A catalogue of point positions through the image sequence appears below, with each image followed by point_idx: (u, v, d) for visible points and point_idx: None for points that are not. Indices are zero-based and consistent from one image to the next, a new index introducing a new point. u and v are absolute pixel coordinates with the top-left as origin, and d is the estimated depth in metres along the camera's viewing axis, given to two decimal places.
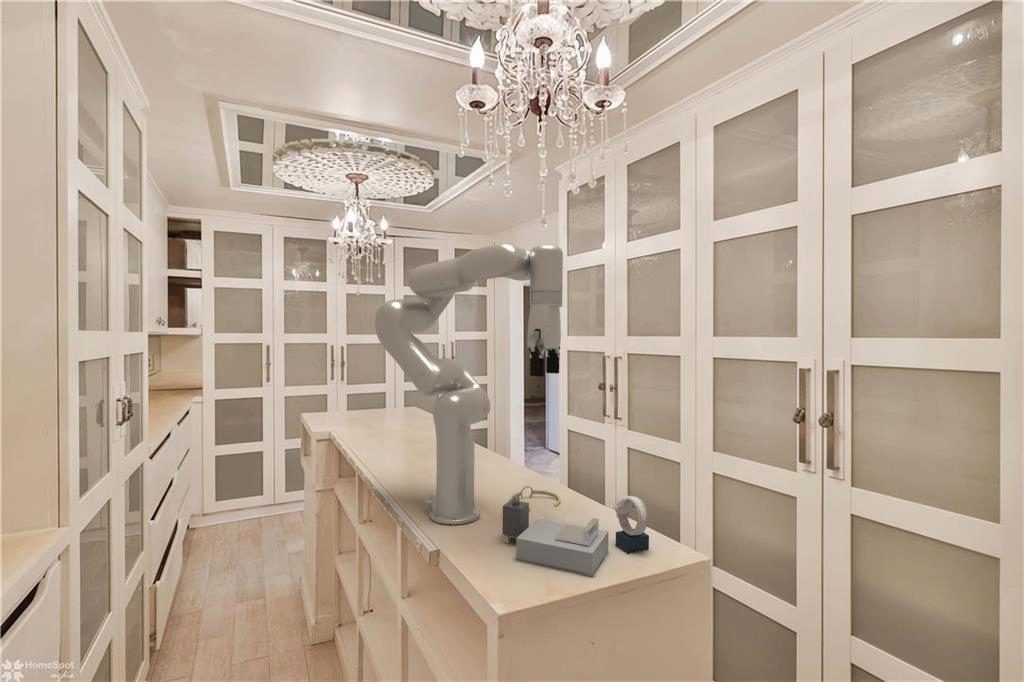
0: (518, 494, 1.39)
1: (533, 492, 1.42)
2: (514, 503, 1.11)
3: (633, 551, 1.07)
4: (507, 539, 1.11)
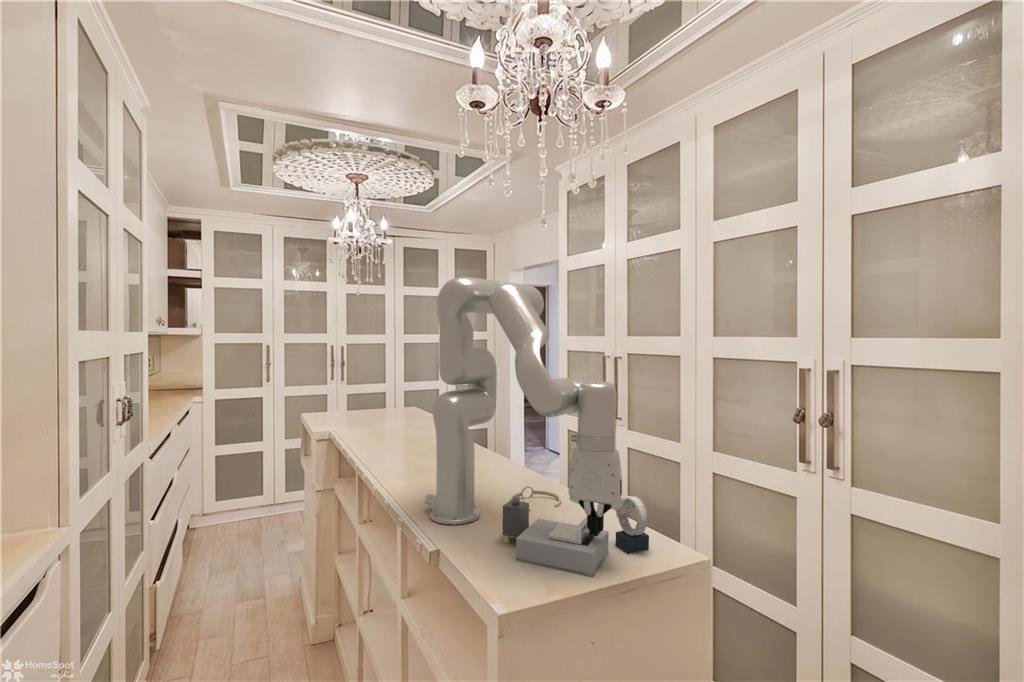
0: (518, 494, 1.39)
1: (533, 492, 1.42)
2: (514, 503, 1.11)
3: (633, 551, 1.07)
4: (507, 539, 1.11)
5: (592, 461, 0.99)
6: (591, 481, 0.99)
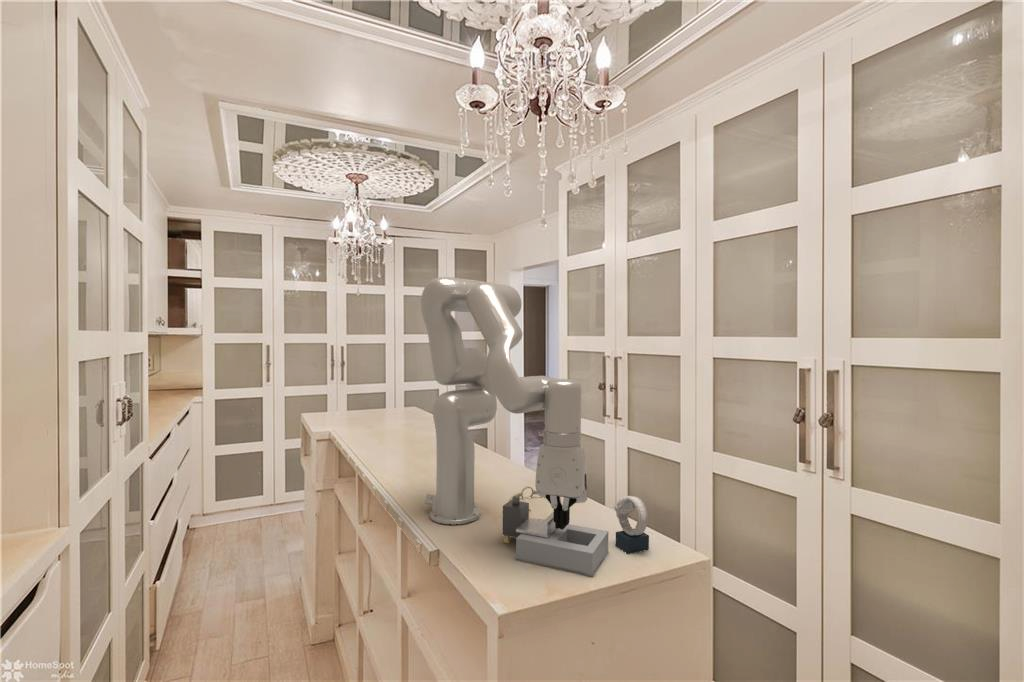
0: (519, 494, 1.39)
1: (534, 492, 1.41)
2: (514, 503, 1.11)
3: (633, 551, 1.07)
4: (507, 539, 1.11)
5: (557, 456, 1.02)
6: (556, 475, 1.02)
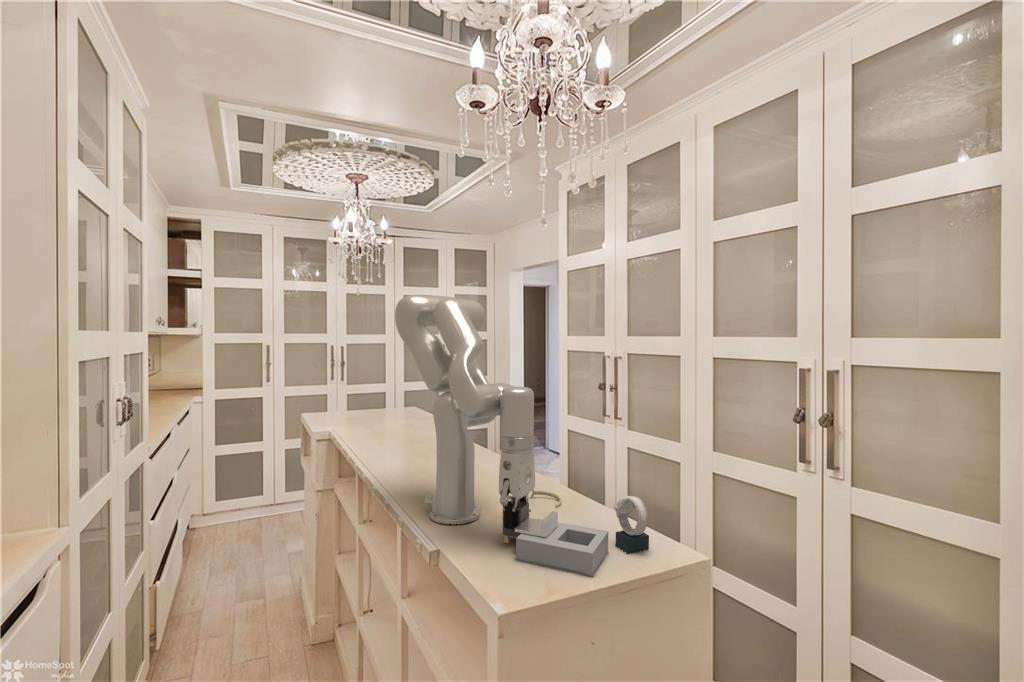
0: None
1: (534, 493, 1.41)
2: None
3: (633, 551, 1.07)
4: (507, 539, 1.11)
5: (527, 458, 1.11)
6: (527, 476, 1.10)
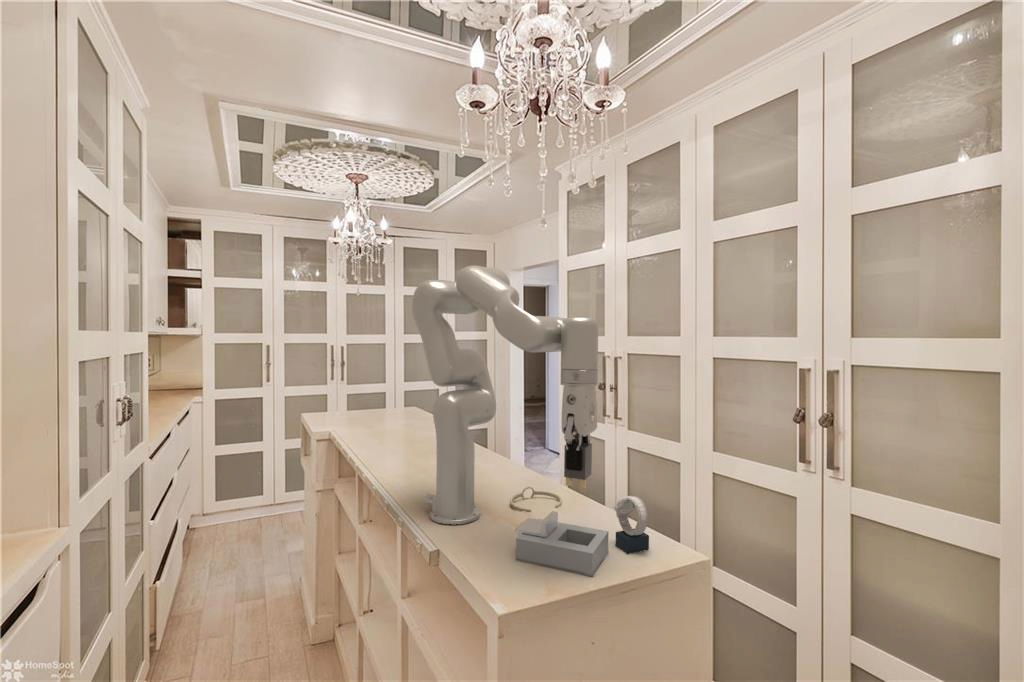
0: (519, 495, 1.39)
1: (534, 493, 1.41)
2: None
3: (633, 551, 1.07)
4: (569, 482, 1.02)
5: (592, 393, 1.02)
6: (591, 413, 1.02)
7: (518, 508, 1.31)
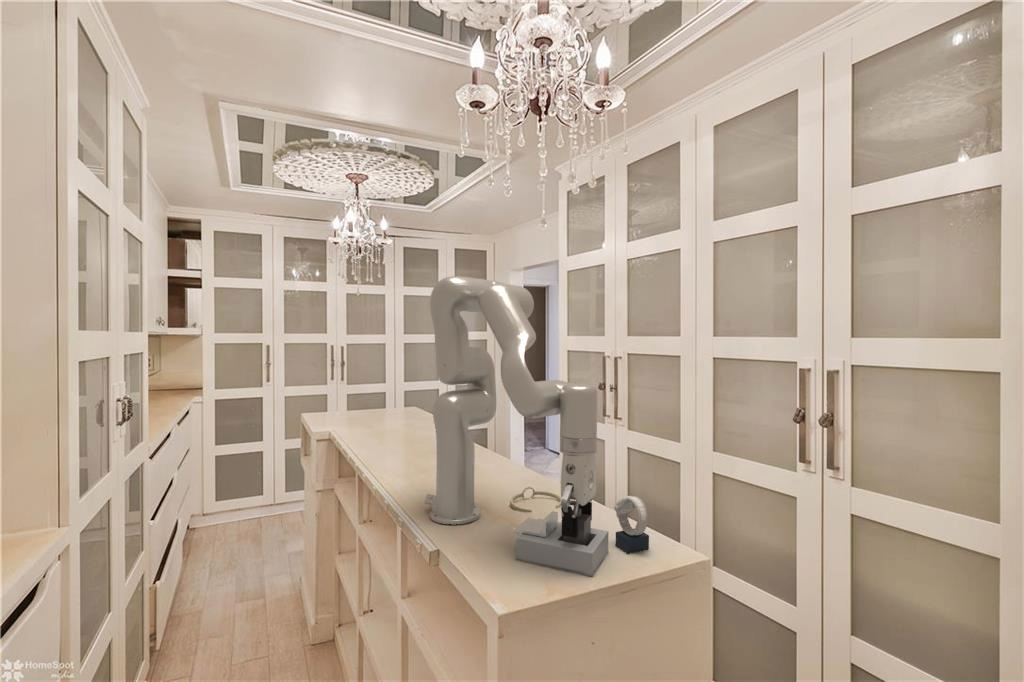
0: (519, 495, 1.39)
1: (535, 493, 1.41)
2: (576, 515, 1.03)
3: (633, 551, 1.07)
4: None
5: (591, 461, 1.02)
6: (591, 480, 1.02)
7: (518, 508, 1.31)
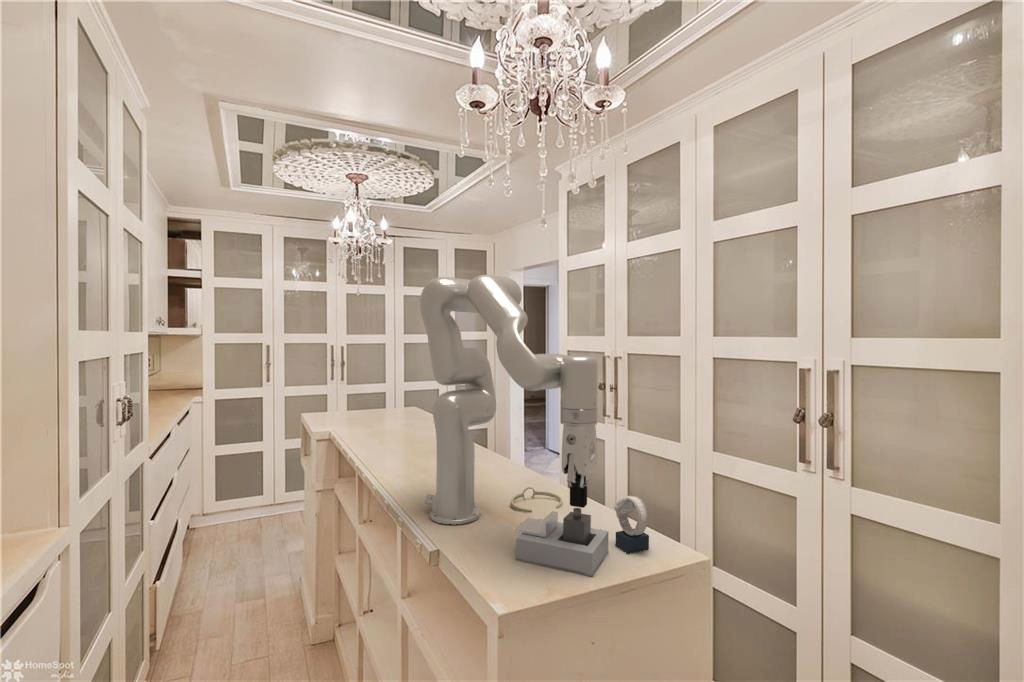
0: (520, 495, 1.39)
1: (535, 493, 1.41)
2: (576, 515, 1.03)
3: (633, 551, 1.07)
4: None
5: (591, 432, 1.02)
6: (591, 451, 1.02)
7: (519, 508, 1.31)
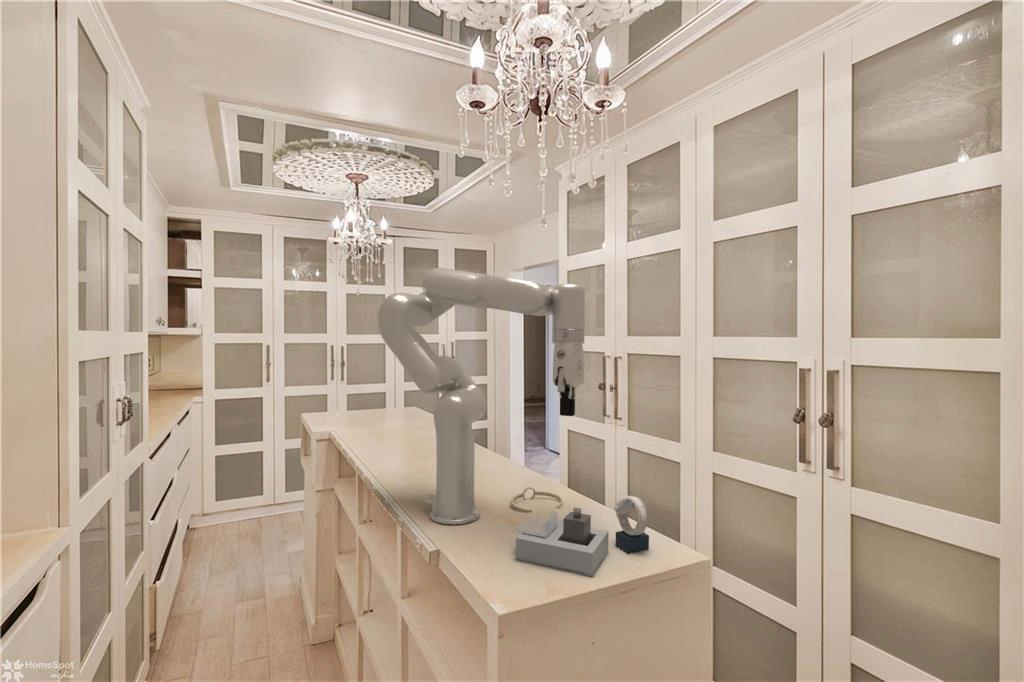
0: (520, 495, 1.38)
1: (535, 493, 1.41)
2: (576, 515, 1.03)
3: (633, 551, 1.07)
4: None
5: (579, 350, 1.17)
6: (579, 367, 1.17)
7: (519, 508, 1.31)
